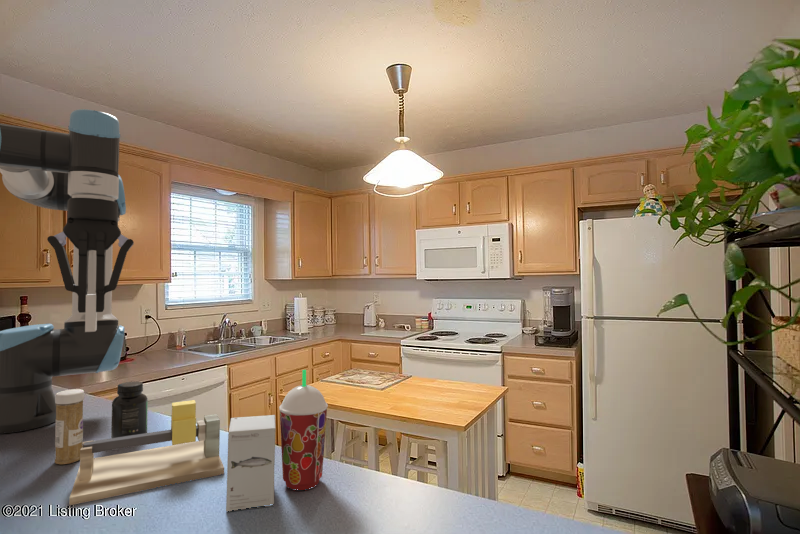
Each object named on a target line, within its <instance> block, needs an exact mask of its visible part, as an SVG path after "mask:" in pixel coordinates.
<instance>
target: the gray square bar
mask: <svg viewBox="0 0 800 534" xmlns="http://www.w3.org/2000/svg"><path fill="white" fill-rule="evenodd" d="M197 437H198V426H197V425H196V438H197ZM89 441H90V442H86V441H83V442H84V445H83V448H85V447H92V453H94V454H96V453H102V452H109V451H114V450H121V449H127V448H134V447H140V446H147V445H151V444H158V443H159V444H160V443H165V442H172V429H171V428H170V429H165V430H160V431H153V432H147V433H144V434H138V435H131V436H124V437H117V438H111V437H110V438H105V439H98V440H94V441H93V440H89Z"/></svg>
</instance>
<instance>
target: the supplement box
mask: <svg viewBox="0 0 800 534" xmlns="http://www.w3.org/2000/svg"><path fill="white" fill-rule="evenodd" d="M276 426H277V425H276V415H275V414H271V415H270V414H268V415H256V416H253V415H252V416H237V417H231V418H230V422H229V426H228V428H229V429H228V434H227V438H228V439H227V462H226V463H227V466H226V467H227V468H226V471H227V472H226V473H227V474H226V503H225V511H227V512H226V513H229V512H232V510H234V511H239V510H238V509H241V510H247V509H246V508H249V509H252V508H251V507H257V506H264V505H270V504H274V505H275V465H276V464H275V458H276ZM257 508H258V507H257ZM228 511H229V512H228Z"/></svg>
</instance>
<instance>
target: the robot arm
mask: <svg viewBox="0 0 800 534" xmlns="http://www.w3.org/2000/svg"><path fill="white" fill-rule="evenodd" d="M120 132H121V131H120V122H119V119H118V118H117V117H116V116H114V115H112V114H110V113H107V112H104V111H99V110H95V109H94V110H93V109H86V108H85V109H83V108H81V109H75V110H73V111H71V113H70V114H69V124H68V133H65V132H58V131H51V130H44V129H39V128H32V127H26V126H20V125H19V126H18V125H13V124H6V123H0V173H1V175H2V176H1V179H2V183H3V186H4V187H5V189H7V191H8V192H9V193H10V194H12V195H13V196H14V197H15V198H18V199H19V200H21V201H24V202H25V203H28V204H31V205H33V206H36V207H40V208H43V209H48V210H55V211H65V212H66V211H67V214H66V215H67V216H66V224H65V225H64V226H63V228H62V230H63V231H61V232H58V233H56V234H55V235H50V236H48V237H47V242H48V243H49V244H50V246H51V247H52V248H53V249H54V253H55V256H56V259H57V264H58V267H59V270H60V274H61V276H62V280H63V285H64V288H65V290H66V291H68V292H72V294H71V295H72V296H71V299H72V300H71V301H72V302H71V303H72V304H71V306H72V307H71V314H70V316H68V318H67V319H66V320H64V324H63V325H64V326H63V327H64V328H57V329H55V325H53V324H52V323H43V324H42V323H41V324H39V323H38V324H31V325H24V326H18V327H13V328H7V329H3V330H0V435H1V434H12V433H18V432H23V431H29V430H35V429H38V428H41V427H42V428H43V427H44V426H48V425H50V424H53V423H54V422H56V403H55V395H56V393H55V392H54V389H53V377H61V376H62V377H63V376H71V375H73V376H74V375H83V374H84V375H85V374H94V373H95V374H98V373H102V372H109V371H113V370H115V369H117V368H118V366H119V364H120V361H121V356H122V352H123V351H122V350H123V346H124V345H123V344H124V339H125V326H123V325H121V324H119V318H117V317H116V316H115V315H114V314H113V310H112V309H113V305H112V304H113V303H112V302H113V291H115V290H116V289H117V286H118V284H119V281H120V277H121V274H122V270H123V267H124V264H125V261H126V258H127V253H128V252H129V251H130V249H131V248H132V247H133V246H134V244H135V243H134V240H133V238H132V239H131V238H129V237H127V236H125V235H123V234H122V231H121V229H120V227H119V222H120V218H121V217H120V216H123V215H126V212H127V206H126V192H125V187H124V181H123V179H122V177H121V176H120V174H119V166H120V165H119V164H120V139H121V134H120ZM67 238H68V240H69V241H70V243H72V245H73V253H72V255H73V259H72V260H73V262H72V263H73V264H72V265H73V266H72V269H71V265H70V260H69V258H68V254H67V250H66V248H65V245H66V244H67V240H66V239H67ZM117 240H118V247H119V250H118V253H117V256H116V260H115V261H114V262H115V263H114V266H113V252H114V251H113V249H114V247H113V244H115V242H116V241H117Z"/></svg>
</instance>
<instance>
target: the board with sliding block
mask: <svg viewBox="0 0 800 534" xmlns="http://www.w3.org/2000/svg"><path fill="white" fill-rule="evenodd" d="M196 426H198V437H196V438H197V440H198V441H197V440H196V441H195V442H189V443H183V444H177V445H172V444H171V445H165V446H160V447H154V448H148V449H143V450H141V449H140V450H136V451H130V452H124V453H117V454H112V455H106V456H99V457H94V456H95V455H94V454H95V453H92V447H85V448H83V445H84V442H90V441H91V440H88V441H82V448H81V449H80V460H79V467H78V471H77V474H76V475H75V476H76V477H75V479H74V483H73V486H72V489H71V492H70V495H69V504H68V505H69V506H73V505H77V504H83V503H87V502H88V503H89V502H93V501H98V500H102V499H108V498H112V497H117V496H123V495H127V494H132V493H139V492H143V491H148V490H152V489H157V488H156V487H158V488H161V487H160V486H163V487H166V486H165V485H167V486H171V485H170V484H172V485H176V484H175V483H177V484H182V483H186V481H187V482H191V481H190V480H192V481H196V479H197V480H201V479H200V478H202V479H206V478H207V479H208V478H211V477H216V476H220V475H221V474H222V475H225V467H224V463H223V461H222V459H221V457H220V443H221V442H220V439H221V438H220V434H221V433H220V432H221V429H220V428H221V419H220V418H219V415H218V414H217V413H215V414H208V415H204V416H203V420H202V419H201V420H196ZM92 441H95V439H93V440H92ZM181 482H182V483H181ZM147 489H148V490H147ZM142 490H143V491H142Z"/></svg>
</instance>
